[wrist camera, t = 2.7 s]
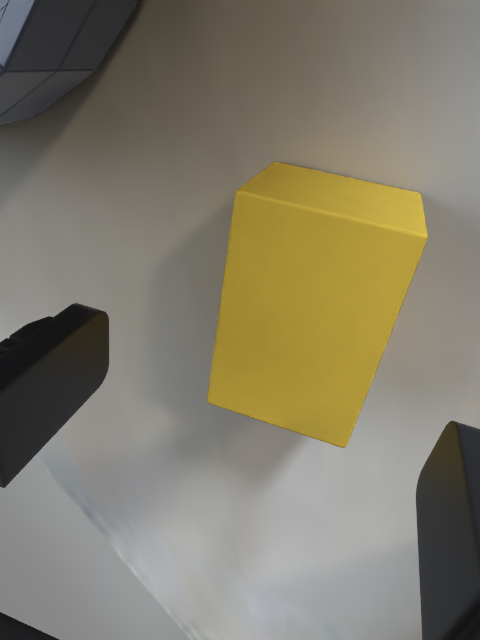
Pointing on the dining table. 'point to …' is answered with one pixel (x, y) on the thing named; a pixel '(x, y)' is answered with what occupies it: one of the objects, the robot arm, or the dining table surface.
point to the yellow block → (311, 296)
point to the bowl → (52, 49)
